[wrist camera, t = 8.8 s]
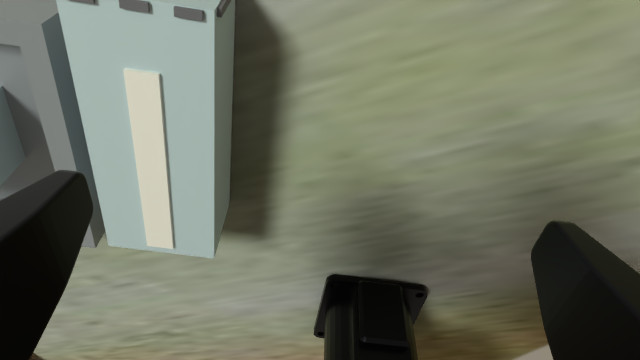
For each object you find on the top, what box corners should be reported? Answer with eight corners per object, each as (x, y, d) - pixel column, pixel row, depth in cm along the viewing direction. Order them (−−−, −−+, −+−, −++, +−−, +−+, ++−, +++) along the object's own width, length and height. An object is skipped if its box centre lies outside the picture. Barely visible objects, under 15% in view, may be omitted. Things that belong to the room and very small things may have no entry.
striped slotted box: (232, 203, 25) (216, 261, 22) (134, 191, 25) (104, 247, 21) (240, -24, 18) (218, 12, 14) (100, -47, 17) (45, -15, 14)
